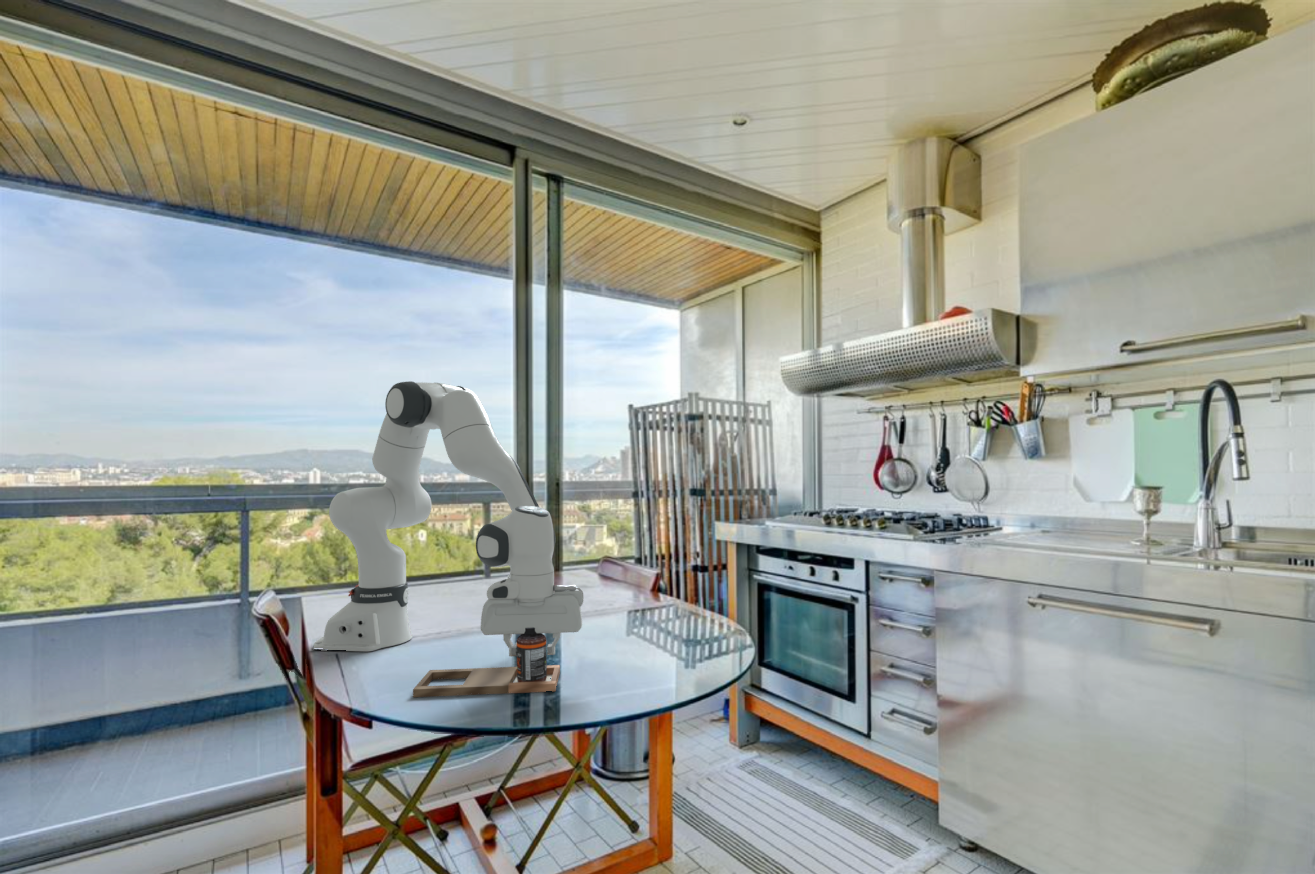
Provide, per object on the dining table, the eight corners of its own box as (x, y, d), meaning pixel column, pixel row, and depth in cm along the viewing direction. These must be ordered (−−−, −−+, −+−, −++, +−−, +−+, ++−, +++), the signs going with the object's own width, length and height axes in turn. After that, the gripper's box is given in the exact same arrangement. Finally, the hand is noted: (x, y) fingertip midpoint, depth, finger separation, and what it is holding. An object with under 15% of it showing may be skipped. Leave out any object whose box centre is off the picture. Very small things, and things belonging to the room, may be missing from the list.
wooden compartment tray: (412, 697, 118) (412, 689, 118) (429, 677, 129) (429, 670, 129) (555, 691, 120) (555, 683, 120) (559, 672, 131) (559, 665, 131)
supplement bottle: (514, 678, 126) (513, 623, 127) (543, 674, 129) (542, 619, 129) (520, 688, 121) (519, 630, 121) (550, 683, 123) (549, 626, 124)
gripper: (584, 581, 130) (584, 648, 129) (485, 584, 128) (485, 651, 127) (582, 588, 123) (583, 657, 123) (478, 590, 122) (478, 661, 121)
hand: (532, 654), depth 125 cm, fingers open, 6 cm apart
